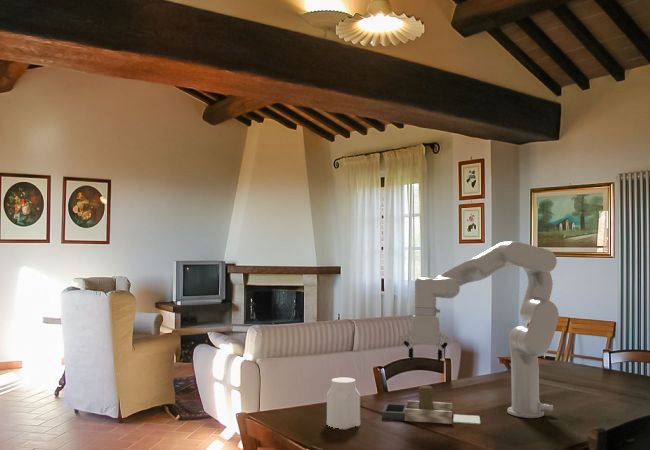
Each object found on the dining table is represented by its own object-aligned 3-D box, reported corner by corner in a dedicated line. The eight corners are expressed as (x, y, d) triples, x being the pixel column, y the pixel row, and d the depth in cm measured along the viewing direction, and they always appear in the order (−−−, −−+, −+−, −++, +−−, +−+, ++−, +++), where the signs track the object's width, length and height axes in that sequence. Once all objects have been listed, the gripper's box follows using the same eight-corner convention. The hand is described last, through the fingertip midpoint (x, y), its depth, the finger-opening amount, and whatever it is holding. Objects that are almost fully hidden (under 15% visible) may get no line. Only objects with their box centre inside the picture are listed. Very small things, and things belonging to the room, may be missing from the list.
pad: (479, 417, 208) (479, 415, 208) (480, 424, 199) (480, 423, 199) (453, 415, 210) (453, 414, 210) (453, 422, 201) (453, 421, 201)
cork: (434, 420, 204) (434, 388, 204) (417, 419, 205) (416, 387, 205) (434, 415, 210) (434, 384, 210) (417, 414, 211) (417, 383, 211)
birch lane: (452, 414, 211) (452, 403, 211) (451, 423, 199) (451, 411, 200) (407, 411, 215) (407, 400, 215) (404, 420, 203) (404, 409, 203)
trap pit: (407, 411, 215) (407, 404, 215) (404, 420, 203) (404, 413, 203) (386, 410, 217) (386, 403, 217) (381, 419, 205) (381, 411, 205)
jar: (339, 430, 191) (339, 384, 192) (321, 424, 199) (321, 379, 199) (365, 424, 199) (365, 379, 199) (346, 418, 206) (346, 375, 207)
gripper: (450, 312, 211) (450, 359, 210) (402, 310, 215) (402, 357, 214) (449, 314, 203) (449, 363, 203) (400, 312, 207) (400, 361, 206)
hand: (425, 360), depth 208 cm, fingers open, 9 cm apart
